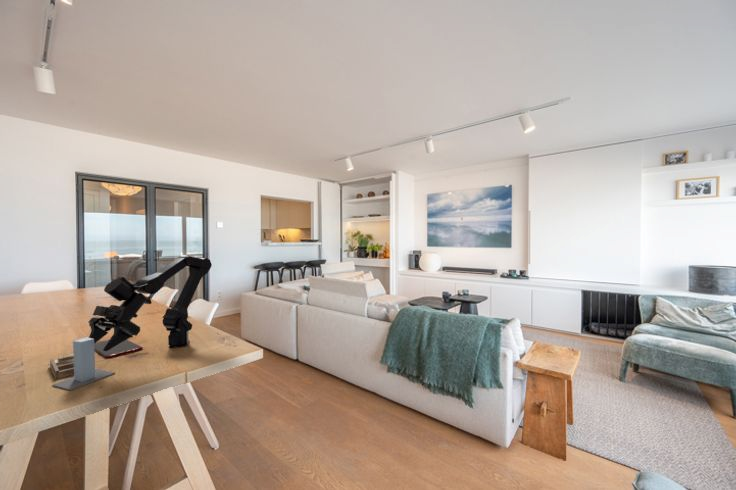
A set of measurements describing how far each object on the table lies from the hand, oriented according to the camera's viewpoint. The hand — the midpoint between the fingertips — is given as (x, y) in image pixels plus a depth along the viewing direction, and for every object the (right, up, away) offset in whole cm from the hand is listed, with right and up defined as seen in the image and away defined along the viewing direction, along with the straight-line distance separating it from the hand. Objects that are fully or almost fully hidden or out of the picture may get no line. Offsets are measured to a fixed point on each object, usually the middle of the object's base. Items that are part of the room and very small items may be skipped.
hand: (95, 349), depth 102 cm
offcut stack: (-18, -9, +8) cm, 21 cm away
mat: (-1, -9, -3) cm, 9 cm away
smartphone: (-15, -9, +26) cm, 31 cm away
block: (-1, -8, -3) cm, 9 cm away
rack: (-15, -9, +5) cm, 18 cm away
